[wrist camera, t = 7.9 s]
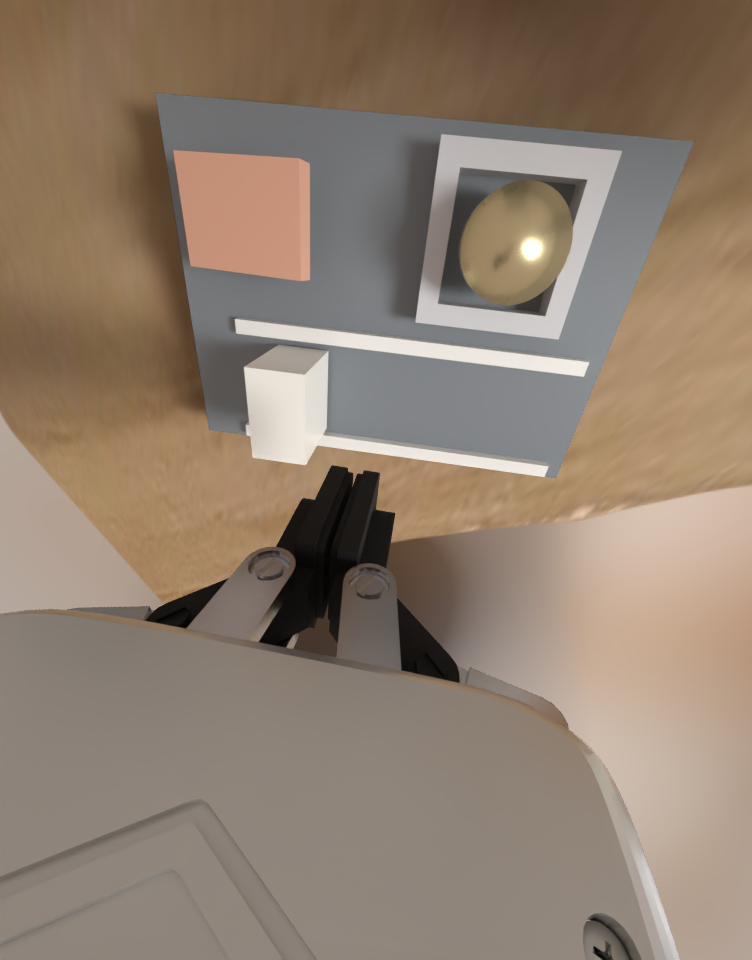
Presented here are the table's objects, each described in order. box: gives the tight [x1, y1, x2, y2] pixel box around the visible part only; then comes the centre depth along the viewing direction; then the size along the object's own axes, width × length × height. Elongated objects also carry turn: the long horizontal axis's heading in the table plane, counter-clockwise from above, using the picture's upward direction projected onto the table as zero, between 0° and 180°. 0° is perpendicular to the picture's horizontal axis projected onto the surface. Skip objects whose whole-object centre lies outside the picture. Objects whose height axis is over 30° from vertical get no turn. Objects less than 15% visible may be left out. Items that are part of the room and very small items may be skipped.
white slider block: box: [244, 345, 329, 465], centre depth 21 cm, size 3×5×5 cm, turn 175°
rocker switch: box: [173, 150, 310, 281], centre depth 17 cm, size 6×4×1 cm
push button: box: [458, 180, 573, 305], centre depth 16 cm, size 4×4×2 cm
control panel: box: [155, 93, 695, 478], centre depth 22 cm, size 24×17×4 cm
